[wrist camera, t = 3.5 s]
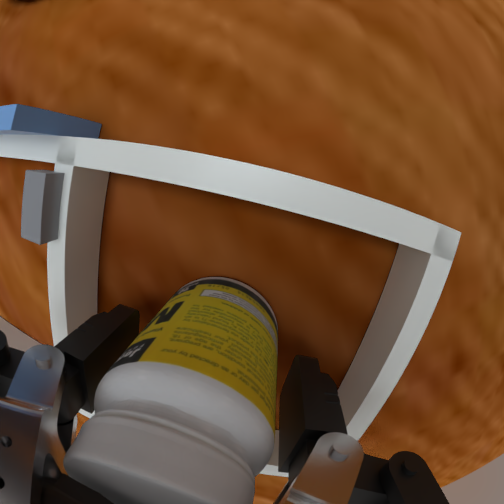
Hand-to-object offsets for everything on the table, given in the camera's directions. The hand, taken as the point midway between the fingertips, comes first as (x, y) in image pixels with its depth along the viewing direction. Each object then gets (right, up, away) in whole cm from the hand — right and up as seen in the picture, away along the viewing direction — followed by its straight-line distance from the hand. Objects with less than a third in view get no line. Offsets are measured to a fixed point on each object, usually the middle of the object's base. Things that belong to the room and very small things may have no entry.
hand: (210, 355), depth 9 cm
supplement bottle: (0, +1, +2) cm, 2 cm away
